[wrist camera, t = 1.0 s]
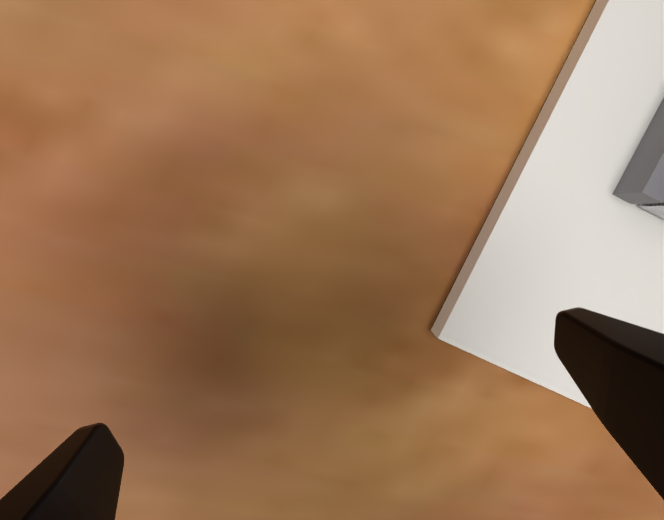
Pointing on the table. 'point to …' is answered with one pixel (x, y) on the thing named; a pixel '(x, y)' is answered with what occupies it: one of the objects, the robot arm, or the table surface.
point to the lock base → (574, 206)
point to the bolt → (654, 208)
